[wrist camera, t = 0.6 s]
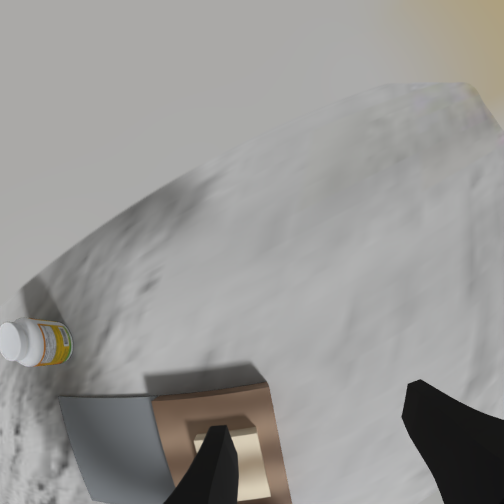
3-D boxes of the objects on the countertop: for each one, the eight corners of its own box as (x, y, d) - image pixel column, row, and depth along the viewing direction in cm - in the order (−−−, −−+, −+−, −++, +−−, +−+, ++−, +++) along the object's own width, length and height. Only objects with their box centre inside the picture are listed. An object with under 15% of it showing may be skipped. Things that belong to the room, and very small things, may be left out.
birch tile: (269, 487, 23) (270, 496, 21) (213, 494, 23) (212, 503, 21) (256, 426, 25) (256, 433, 23) (196, 434, 25) (193, 440, 23)
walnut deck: (289, 496, 25) (293, 508, 22) (191, 507, 24) (187, 519, 21) (267, 381, 29) (269, 386, 26) (159, 395, 28) (151, 401, 25)
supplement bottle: (38, 349, 29) (-11, 348, 19) (51, 313, 30) (1, 304, 21) (66, 371, 28) (17, 378, 19) (79, 335, 30) (30, 332, 20)
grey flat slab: (189, 507, 24) (188, 508, 24) (93, 499, 23) (92, 500, 23) (156, 395, 28) (155, 396, 28) (59, 396, 27) (58, 396, 27)
